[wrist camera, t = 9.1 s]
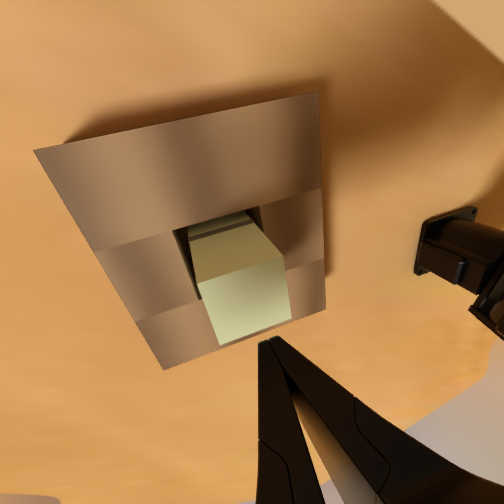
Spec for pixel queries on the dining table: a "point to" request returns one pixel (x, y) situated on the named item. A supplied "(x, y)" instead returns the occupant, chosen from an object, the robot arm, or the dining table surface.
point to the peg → (238, 276)
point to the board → (197, 209)
